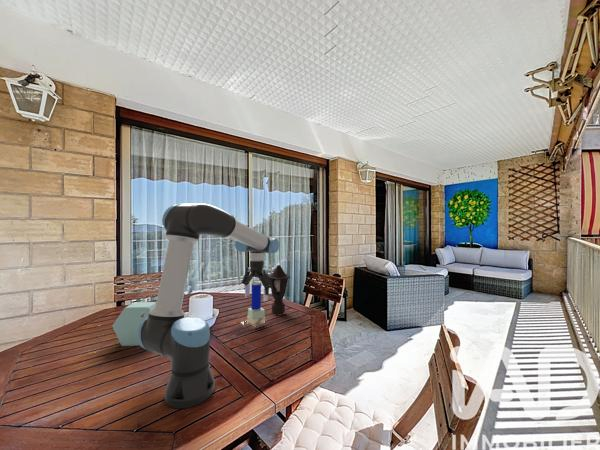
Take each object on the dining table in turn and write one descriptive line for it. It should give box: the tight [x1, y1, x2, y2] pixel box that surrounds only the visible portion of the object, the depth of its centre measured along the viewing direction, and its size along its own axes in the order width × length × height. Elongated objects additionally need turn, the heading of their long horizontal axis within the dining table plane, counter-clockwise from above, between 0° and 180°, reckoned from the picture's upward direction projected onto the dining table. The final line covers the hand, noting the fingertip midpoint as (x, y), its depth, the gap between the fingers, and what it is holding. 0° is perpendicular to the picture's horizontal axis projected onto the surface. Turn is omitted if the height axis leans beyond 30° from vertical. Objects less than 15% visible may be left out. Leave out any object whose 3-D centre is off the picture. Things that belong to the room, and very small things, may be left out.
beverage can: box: [250, 280, 262, 310], centre depth 142 cm, size 5×5×15 cm
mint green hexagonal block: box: [112, 301, 156, 347], centre depth 120 cm, size 17×8×21 cm
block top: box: [247, 307, 266, 320], centre depth 142 cm, size 7×7×4 cm
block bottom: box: [246, 315, 266, 327], centre depth 142 cm, size 7×7×4 cm
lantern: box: [268, 264, 291, 315], centre depth 159 cm, size 15×15×30 cm
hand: (256, 298), depth 142 cm, fingers open, 13 cm apart
